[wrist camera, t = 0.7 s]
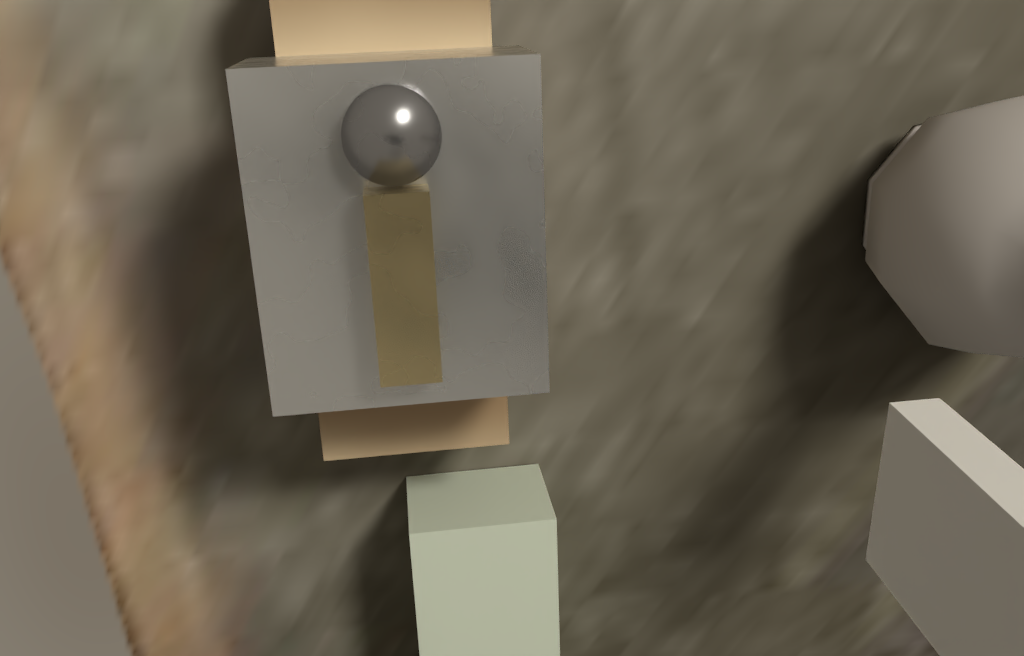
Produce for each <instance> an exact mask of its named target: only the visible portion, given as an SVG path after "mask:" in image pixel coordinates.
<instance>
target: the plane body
mask: <svg viewBox="0 0 1024 656" xmlns="http://www.w3.org/2000/svg"><path fill="white" fill-rule="evenodd" d="M269 4H270V13H271V21H272V29H273V38H274V46H275V55H276V57H279V56H300V55H321V54H342V53H363V52H384V51H406V50H427V49H448V48H469V47H490V46H492V33H491V9H490V0H269ZM318 417H319V425H320V433H321V442H322V450H323V459H324V461H331V460H341V459H352V458H363V457H374V456H384V455H395V454H406V453H417V452H427V451H438V450H449V449H459V448H470V447H481V446H492V445H502V444H509V425H508V402H507V396H503V397H492V398H481V399H469V400H458V401H446V402H435V403H424V404H412V405H401V406H389V407H378V408H367V409H355V410H344V411H332V412H321V413H318Z"/></svg>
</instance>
